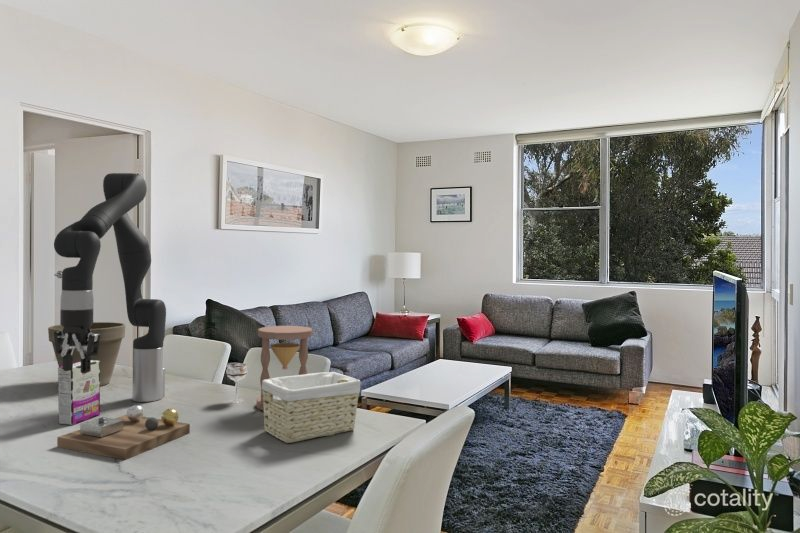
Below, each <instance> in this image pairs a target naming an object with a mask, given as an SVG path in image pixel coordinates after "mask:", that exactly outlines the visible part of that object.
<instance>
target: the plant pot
mask: <svg viewBox="0 0 800 533" xmlns="http://www.w3.org/2000/svg"><path fill="white" fill-rule="evenodd" d="M63 328H64V326H61V324H55V325H51V326H49V327H48V328H47V331H48V341H49V342H51V345H52V347H53V351H54V354H55V358H56V362H57V366H58V367H62V366H63V357H62V356H61V354H57V353H56V347H55V339H54V332H55V331H62V330H63ZM90 330H91V333H94V334H97V333H99V334H100V341H99V348H98V354H97V355H96V356H93V357H91V360H96V361H100V387H101V386H105V385H108V384H110V382H111V380H112V376H113V373H114V370H115V368H116V367H115V365H116V362H117V359H118V355H119V351H120V347H121V345H122V341H123V339H124V338H125V336H126V324H125V323H123V322H111V321H110V322H109V321H101V322H100V321H98V322H97V321H95V322H94V321H93V324H92V325H91V326H90ZM84 346H86V344H85V345H84ZM60 348H61V349H62V344H60ZM68 350H69V349H68ZM84 351H85V354H86V350H84ZM92 352H93V348H92ZM71 356H73V363H77V362H81V359H82V358H81V355H80V352H79V351H78V350H77V348H74V351H73V354H72V355H71Z"/></svg>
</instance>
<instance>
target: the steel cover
mask: <svg viewBox="0 0 800 533" xmlns="http://www.w3.org/2000/svg"><path fill="white" fill-rule="evenodd" d="M123 424H124V420H119V419H115V418H112V417H106V416H105V417H104V416H103V417H99V418H96V419H95V418H94V419H93V420H89V421H86V422H83V423H82V422H81V423H80V424H79V430H80V434H85V435H91V436H97V437H103V436H106V435H109V434H112V433H114V432H117V431H120V430H123Z"/></svg>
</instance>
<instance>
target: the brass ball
mask: <svg viewBox="0 0 800 533" xmlns="http://www.w3.org/2000/svg"><path fill="white" fill-rule="evenodd" d="M179 417H180V416H179V412H178V411H177V410H176V409H174V408H167V409H165V410H164V411H163V412H162V414H161V420H162V422H163V423H164V424H165V425H169V426H170V425H173V424H175V423H176V422H179Z"/></svg>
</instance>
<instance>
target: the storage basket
mask: <svg viewBox="0 0 800 533" xmlns="http://www.w3.org/2000/svg"><path fill="white" fill-rule="evenodd" d="M360 392H361V380H360V379H358V378H354V377H352V376H349V375H345V374H342V373H340V372H335V371H331V372H330V371H326V372H324V371H322V372H315V373H313V372H312V373H308V374H304V375H299V374H297V375H296V374H295V375H287V376H286V375H285V376H279V377H278V376H277V377H272V378H270V379H267V380H266V379H264V380H263V381H262V395H263V404H264V405H263V407H264V411H263V421H264V422H263V424H264V425H263V426H264V431H265V432H267V433H268V434H269V435H271V436H273V437H275V438H276V439H278V440H280V441H282V442H284V443H285V444H289V443H296V442H300V441H305V440H311V439H315V438H318V437H319V438H321V437H330V436H333V435H335V434H339V433H346V432H349V431H354V429H355V428H356V427H355V424H356V417H357V409H358V401H359V397H360V396H359V395H360Z"/></svg>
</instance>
